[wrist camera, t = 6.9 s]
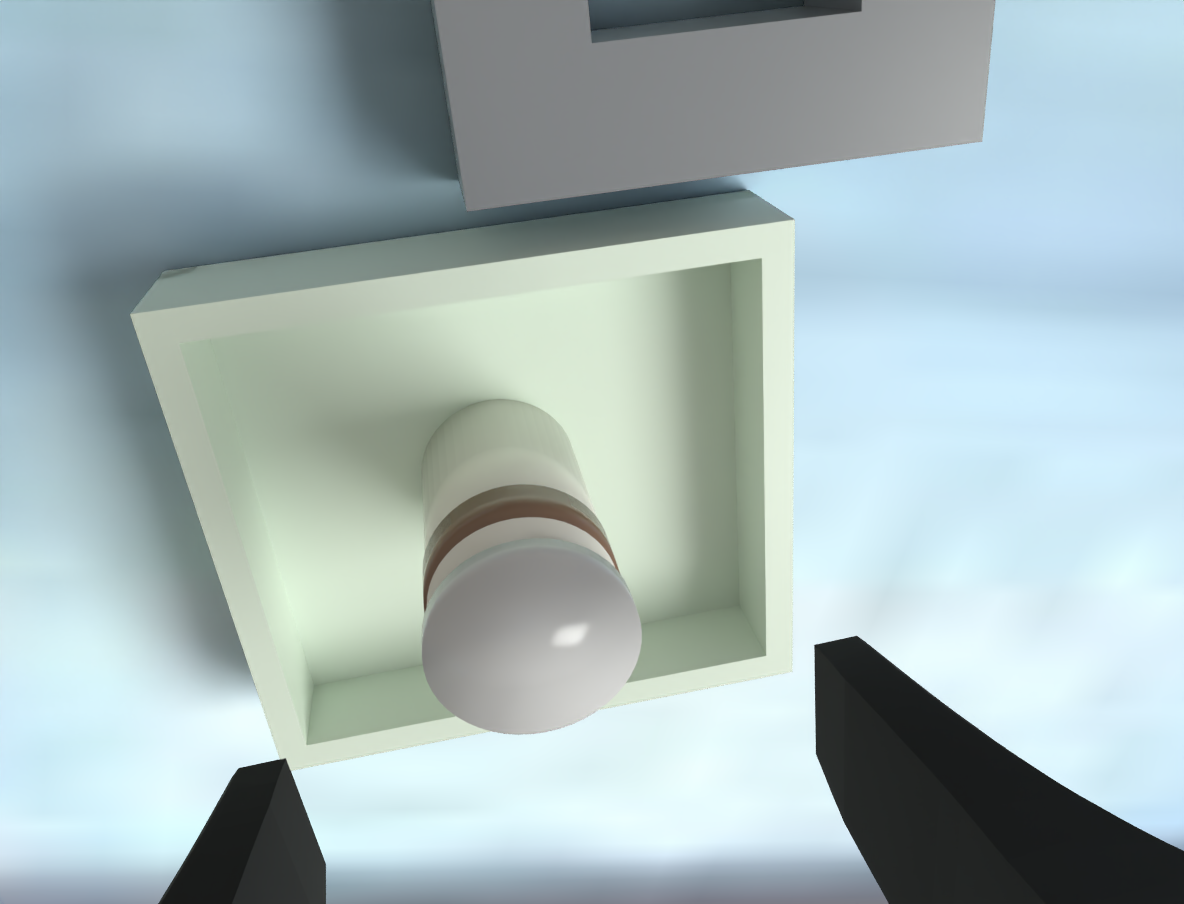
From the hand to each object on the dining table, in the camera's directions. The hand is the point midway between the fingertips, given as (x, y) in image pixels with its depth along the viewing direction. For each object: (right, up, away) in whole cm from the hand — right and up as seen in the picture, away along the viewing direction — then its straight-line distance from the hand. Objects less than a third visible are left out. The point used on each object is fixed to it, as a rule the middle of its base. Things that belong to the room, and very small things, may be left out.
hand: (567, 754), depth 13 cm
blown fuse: (-2, +4, +7) cm, 8 cm away
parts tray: (-2, +4, +8) cm, 9 cm away
